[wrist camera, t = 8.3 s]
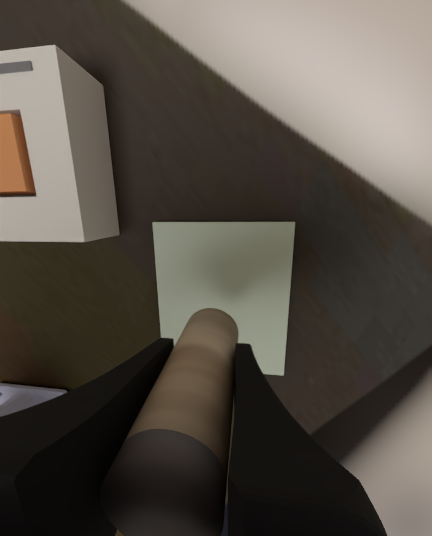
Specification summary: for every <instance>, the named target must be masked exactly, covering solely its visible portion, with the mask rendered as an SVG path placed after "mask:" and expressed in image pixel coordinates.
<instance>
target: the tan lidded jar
mask: <svg viewBox="0 0 432 536" xmlns="http://www.w3.org/2000/svg"><path fill="white" fill-rule="evenodd" d="M238 335H239V332H238V327H237V324H236V322H235V321H234V319H233V318H232V317H231V316H230V315H229V314H227V313H226V312H224V311H222V310H219V309H215V308H205V309H201V310H199V311H197V312H195V313H194V314H193V315H192V316H191V317H190V319H189V320H188V322H187V324H186V326H185V328H184V330H183V331H182V333H181V335H180V337H179V339H178V341H177V343H176V345H175V347H174V348H173V350H172V352H171V354H170V356H169V358H168V360H167V362H166V363H165V365H164V367H163V369H162V371H161V373H160V375H159V377H158V379H157V380H156V382H155V384H154V386H153V388H152V390H151V392H150V394H149V395H148V397H147V399H146V401H145V403H144V405H143V407H142V409H141V411H140V412H139V414H138V416H137V418H136V420H135V422H134V424H133V426H132V427H131V429H130V431H129V433H128V435H127V437H126V439H125V441H124V443H123V444H122V446H121V448H120V450H119V452H118V454H117V456H116V458H115V460H114V461H113V463H112V465H111V467H110V469H109V471H108V473H107V475H106V476H105V478H104V480H103V482H102V485H101V488H100V501H101V505H102V508H103V510H104V512H105V514H106V516H107V517H108V519H109V520H110V522H111V523H112V524H113V525H114V526H115V527H116V528H117V529H118V530H119V531H120V532H121V533H122V534H124V535H125V536H220V535H221V532H222V529H223V521H224V509H225V497H226V485H227V472H228V460H229V447H230V435H231V423H232V410H233V398H234V385H235V346H236V343H238Z"/></svg>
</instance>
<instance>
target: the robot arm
mask: <svg viewBox="0 0 432 536" xmlns="http://www.w3.org/2000/svg"><path fill="white" fill-rule="evenodd" d="M173 348H174V339H173V338H160V339H158V340H157V341H155V342H154V343H152V344H151V345H149V346H148V347H146V348H145V349H143V350H142V351H140V352H139V353H138V354H136V355H135V356H133V357H132V358H130V359H129V360H127V361H125V362H124V363H122V364H120V365H119V366H117V367H116V368H114V369H112V370H111V371H109V372H107V373H106V374H104V375H102V376H100V377H98V378H96V379H94V380H92V381H90V382H88V383H87V384H85V385H82V386H80V387H78V388H76V389H74V390H71V391H69V392H67V391H66V390H62V389H52V388H43V387H33V386H24V385H15V384H5V383H0V536H115V534H116V531H117V528H116V527H115V526H114V525H113V524H112V523H111V522H110V520H109V519H108V517H107V516H106V514H105V512H104V510H103V508H102V505H101V501H100V488H101V485H102V482H103V480H104V478H105V476H106V475H107V473H108V471H109V469H110V467H111V465H112V463H113V461H114V460H115V458H116V456H117V454H118V452H119V450H120V448H121V446H122V444H123V443H124V441H125V439H126V437H127V435H128V433H129V431H130V429H131V427H132V426H133V424H134V422H135V420H136V418H137V416H138V414H139V412H140V411H141V409H142V407H143V405H144V403H145V401H146V399H147V397H148V395H149V394H150V392H151V390H152V388H153V386H154V384H155V382H156V380H157V379H158V377H159V375H160V373H161V371H162V369H163V367H164V365H165V363H166V362H167V360H168V358H169V356H170V354H171V352H172V350H173ZM234 414H235V416H234V427H233V437H232V447H231V456H230V466H229V474H228V536H387V534H386V531H385V529H384V527H383V524H382V522H381V520H380V518H379V516H378V514H377V512H376V510H375V508H374V507H373V505H372V503H371V501H370V499H369V497H368V495H367V494H366V492H365V490H364V488H363V486H362V485H361V483H360V481H359V480H358V479H357V478H356V477H355V476H353V475H352V474H351V473H350V472H349V471H348V470H346V469H345V468H344V467H343V466H342V465H341V464H339V463H338V462H337V461H336V460H335V459H334V458H332V457H331V456H330V455H329V454H328V453H327V452H326V451H325V450H324V449H322V448H321V447H320V446H319V445H318V444H317V443H316V442H315V441H314V440H313V439H312V438H311V437H310V435H309V434H308V433H307V432H306V431H305V430H304V429H303V428H302V427H301V426H300V424H299V423H298V422H297V421H296V420H295V419H294V418H293V417H292V415H291V414H290V413H289V412H288V410H287V409H286V408H285V407H284V405H283V404H282V402H281V401H280V400H279V398H278V397H277V396H276V394H275V393H274V391H273V390H272V388H271V386H270V385H269V383H268V382H267V380H266V378H265V376H264V375H263V373H262V371H261V369H260V367H259V365H258V363H257V361H256V358H255V356H254V353H253V350H252V346H251V345H250V344H246V343H236V346H235V385H234Z"/></svg>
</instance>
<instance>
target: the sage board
mask: <svg viewBox="0 0 432 536" xmlns="http://www.w3.org/2000/svg"><path fill="white" fill-rule="evenodd" d="M152 223H153V237H154V250H155V263H156V276H157V290H158V303H159V316H160V330H161V338H173V339H174V347H175V345H176V343H177V341H178V339H179V337H180V335H181V333H182V331H183V330H184V328H185V326H186V324H187V322H188V320H189V319H190V317H191V316H192V315H193V314H194V313H195V312H197V311H199V310H201V309H205V308H215V309H219V310H222V311H224V312H226V313H227V314H229V315H230V316H231V317H232V318H233V319H234V321H235V322H236V324H237V327H238V332H239V335H238V343H246V344H250V345H251V346H252V350H253V353H254V356H255V358H256V361H257V363H258V365H259V367H260V369H261V371H262V373H263V374H271V375H283V376H284V365H285V352H286V339H287V325H288V312H289V299H290V286H291V272H292V259H293V246H294V232H295V222H152Z"/></svg>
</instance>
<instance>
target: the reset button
mask: <svg viewBox="0 0 432 536" xmlns="http://www.w3.org/2000/svg"><path fill="white" fill-rule="evenodd" d="M0 194H4V195H36V190H35V185H34V180H33V175H32V169H31V164H30V159H29V154H28V148H27V143H26V138H25V133H24V128H23V122H22V118H21V117H18V116H16V115H13V114H11V113H8V114H0Z"/></svg>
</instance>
